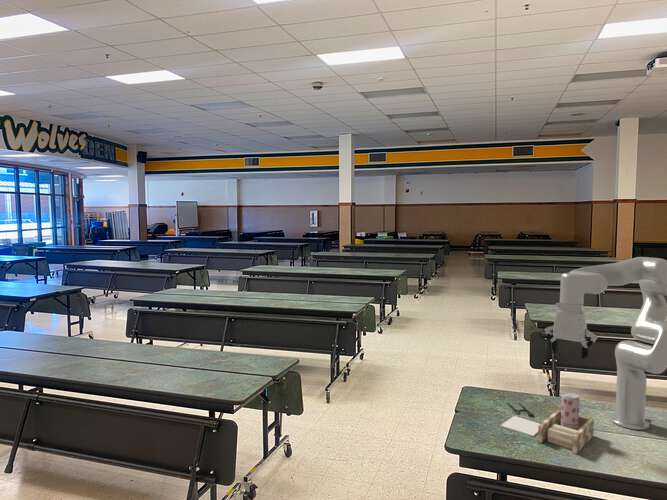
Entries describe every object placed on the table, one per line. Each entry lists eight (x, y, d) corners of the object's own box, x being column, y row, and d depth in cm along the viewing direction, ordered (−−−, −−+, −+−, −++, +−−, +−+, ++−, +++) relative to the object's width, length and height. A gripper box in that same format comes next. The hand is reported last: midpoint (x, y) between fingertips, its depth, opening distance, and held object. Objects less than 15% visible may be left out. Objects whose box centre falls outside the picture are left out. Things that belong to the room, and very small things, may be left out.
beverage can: (557, 435, 169) (559, 394, 168) (564, 430, 173) (565, 390, 172) (574, 441, 165) (575, 399, 164) (580, 436, 168) (582, 395, 168)
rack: (557, 425, 177) (557, 409, 177) (593, 435, 169) (593, 419, 168) (537, 442, 164) (538, 425, 163) (576, 454, 155) (576, 436, 155)
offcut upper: (553, 430, 168) (554, 423, 168) (577, 437, 163) (578, 430, 162) (547, 436, 164) (547, 428, 164) (572, 443, 158) (572, 436, 158)
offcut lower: (553, 437, 169) (554, 430, 168) (577, 444, 163) (578, 437, 163) (547, 442, 164) (547, 435, 164) (572, 450, 159) (572, 443, 159)
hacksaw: (535, 418, 185) (535, 414, 185) (509, 418, 185) (509, 414, 185) (511, 395, 209) (511, 392, 209) (488, 395, 209) (488, 392, 209)
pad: (513, 417, 185) (513, 415, 185) (545, 426, 176) (545, 425, 176) (500, 426, 176) (500, 425, 176) (532, 436, 168) (533, 435, 168)
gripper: (542, 305, 170) (540, 352, 171) (595, 312, 158) (592, 362, 159) (549, 303, 175) (547, 348, 176) (601, 309, 163) (599, 358, 164)
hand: (569, 355), depth 167 cm, fingers open, 9 cm apart
